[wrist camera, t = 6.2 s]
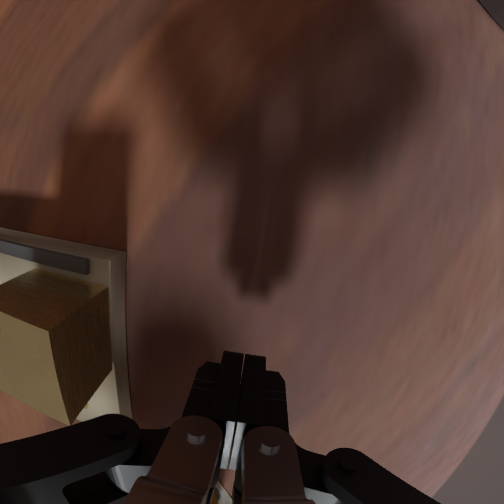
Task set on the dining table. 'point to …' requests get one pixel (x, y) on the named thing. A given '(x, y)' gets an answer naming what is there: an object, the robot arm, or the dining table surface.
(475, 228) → the dining table surface
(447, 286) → the dining table surface
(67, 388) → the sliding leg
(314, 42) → the dining table surface
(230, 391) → the robot arm
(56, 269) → the board
